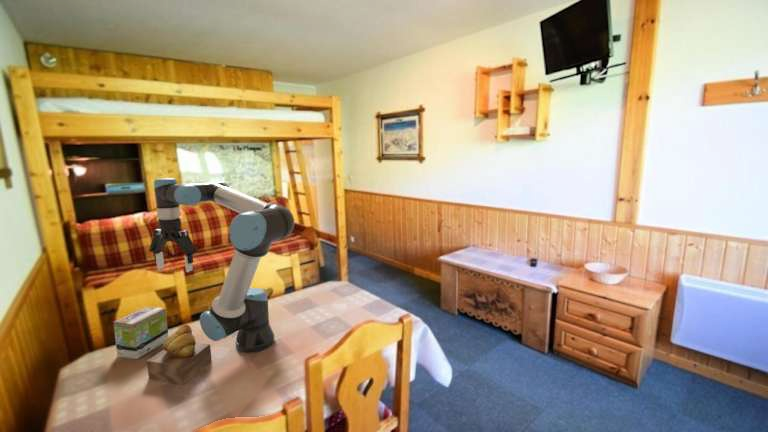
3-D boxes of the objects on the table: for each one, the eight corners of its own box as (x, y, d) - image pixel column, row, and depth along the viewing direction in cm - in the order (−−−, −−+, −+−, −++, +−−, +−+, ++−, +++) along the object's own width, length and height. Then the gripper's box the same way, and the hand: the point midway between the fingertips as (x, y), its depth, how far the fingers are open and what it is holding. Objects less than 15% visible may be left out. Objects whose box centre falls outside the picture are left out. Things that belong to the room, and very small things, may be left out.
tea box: (138, 360, 131) (133, 324, 129) (116, 357, 133) (111, 321, 131) (169, 339, 146) (166, 307, 143) (150, 337, 148) (145, 305, 145)
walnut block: (211, 361, 131) (210, 344, 129) (183, 384, 117) (180, 366, 116) (180, 356, 133) (178, 339, 132) (148, 379, 120) (146, 360, 119)
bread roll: (201, 354, 123) (199, 333, 121) (169, 365, 116) (167, 343, 115) (191, 340, 132) (188, 321, 130) (161, 350, 125) (159, 329, 124)
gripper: (203, 217, 135) (208, 268, 139) (151, 215, 141) (157, 264, 144) (189, 221, 128) (194, 275, 132) (134, 218, 133) (141, 270, 137)
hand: (175, 269), depth 138 cm, fingers open, 13 cm apart
